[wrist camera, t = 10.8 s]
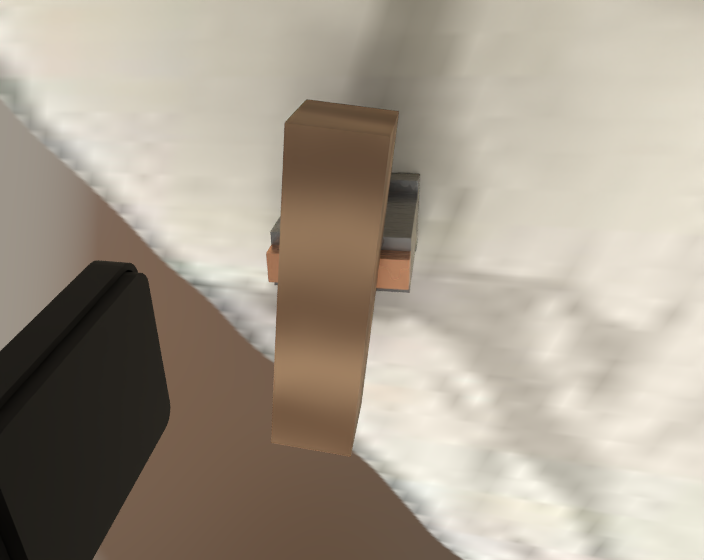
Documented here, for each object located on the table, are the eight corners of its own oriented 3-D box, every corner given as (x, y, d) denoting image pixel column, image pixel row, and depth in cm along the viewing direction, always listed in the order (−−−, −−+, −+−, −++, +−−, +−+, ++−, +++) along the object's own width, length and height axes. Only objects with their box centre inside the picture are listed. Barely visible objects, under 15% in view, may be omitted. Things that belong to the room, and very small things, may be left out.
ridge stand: (301, 170, 38) (263, 226, 30) (419, 174, 37) (410, 233, 30) (305, 237, 40) (270, 305, 33) (417, 242, 39) (407, 314, 32)
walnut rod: (306, 99, 27) (284, 122, 24) (398, 111, 27) (390, 136, 23) (289, 392, 35) (271, 442, 32) (361, 404, 35) (350, 456, 31)
